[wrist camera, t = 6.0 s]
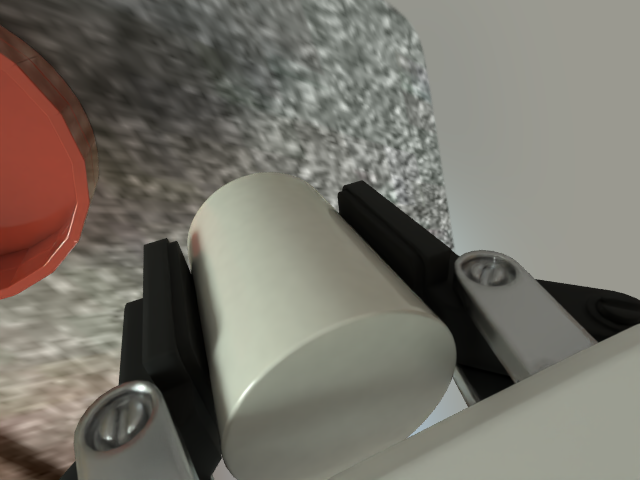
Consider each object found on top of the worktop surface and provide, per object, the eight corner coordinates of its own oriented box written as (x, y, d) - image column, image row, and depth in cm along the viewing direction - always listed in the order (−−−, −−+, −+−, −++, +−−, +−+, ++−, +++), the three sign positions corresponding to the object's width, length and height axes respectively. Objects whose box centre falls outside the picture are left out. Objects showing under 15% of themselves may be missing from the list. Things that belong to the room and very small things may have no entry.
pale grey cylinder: (163, 196, 9) (179, 387, 5) (322, 153, 10) (470, 272, 6) (212, 318, 12) (256, 523, 7) (337, 273, 13) (449, 425, 8)
